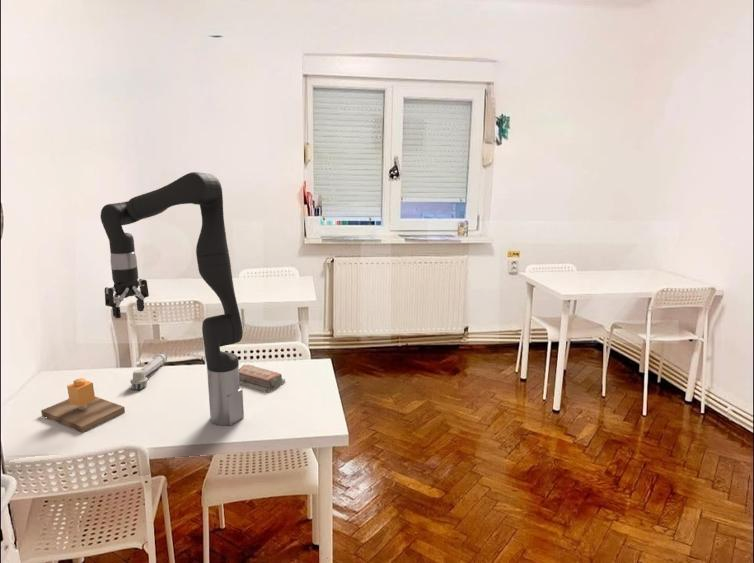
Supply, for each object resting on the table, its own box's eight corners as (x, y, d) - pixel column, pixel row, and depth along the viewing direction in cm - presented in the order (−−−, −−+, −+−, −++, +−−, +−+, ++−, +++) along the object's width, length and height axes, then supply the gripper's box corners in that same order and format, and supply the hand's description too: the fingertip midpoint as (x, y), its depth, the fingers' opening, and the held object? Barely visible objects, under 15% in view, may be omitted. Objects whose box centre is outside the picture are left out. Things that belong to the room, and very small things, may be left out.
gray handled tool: (168, 352, 204) (142, 370, 180) (169, 369, 205) (143, 389, 180) (155, 352, 204) (127, 370, 179) (155, 369, 205) (127, 389, 180)
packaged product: (286, 370, 188) (267, 381, 180) (286, 383, 189) (268, 394, 181) (248, 360, 197) (228, 369, 188) (248, 372, 198) (229, 382, 189)
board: (124, 412, 166) (124, 406, 165) (82, 432, 154) (82, 426, 153) (84, 398, 175) (84, 392, 174) (42, 416, 163) (41, 410, 162)
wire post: (88, 407, 164) (85, 385, 162) (81, 410, 162) (78, 388, 161) (84, 406, 165) (81, 384, 163) (77, 409, 163) (74, 387, 162)
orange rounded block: (84, 396, 167) (81, 375, 165) (95, 399, 164) (92, 379, 162) (69, 402, 162) (66, 382, 160) (80, 406, 160) (76, 385, 158)
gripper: (135, 260, 176) (140, 307, 180) (96, 268, 164) (101, 318, 168) (151, 263, 172) (155, 310, 176) (111, 271, 160) (117, 322, 164)
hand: (129, 314), depth 172 cm, fingers open, 8 cm apart
